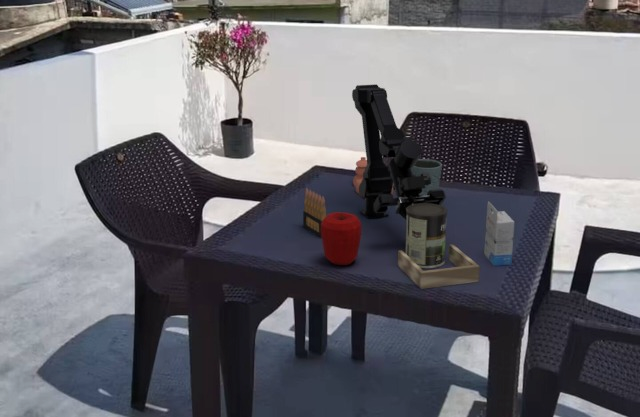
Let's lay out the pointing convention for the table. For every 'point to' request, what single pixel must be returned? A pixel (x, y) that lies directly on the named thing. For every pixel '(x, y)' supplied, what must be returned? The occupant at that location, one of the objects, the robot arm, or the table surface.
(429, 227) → the coffee can
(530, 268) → the table surface
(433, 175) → the green cup
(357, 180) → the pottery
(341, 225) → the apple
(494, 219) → the ink box
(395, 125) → the robot arm
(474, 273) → the corral
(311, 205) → the ammunition clip
